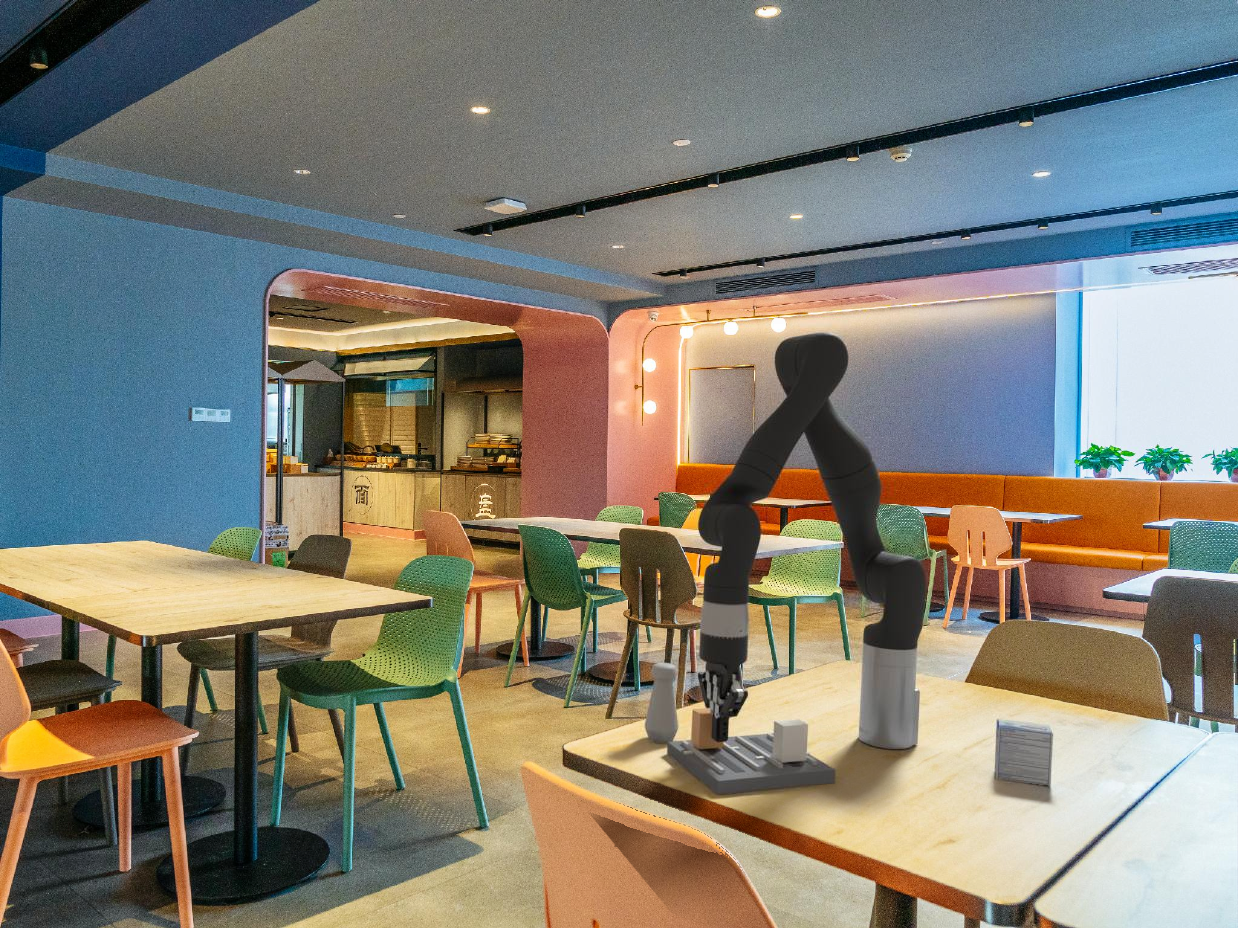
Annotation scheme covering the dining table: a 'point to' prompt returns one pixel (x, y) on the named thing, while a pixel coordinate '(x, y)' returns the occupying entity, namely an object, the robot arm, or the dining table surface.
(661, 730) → the salt shaker
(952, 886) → the dining table surface
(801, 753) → the fader
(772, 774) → the console
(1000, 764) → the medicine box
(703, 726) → the block
